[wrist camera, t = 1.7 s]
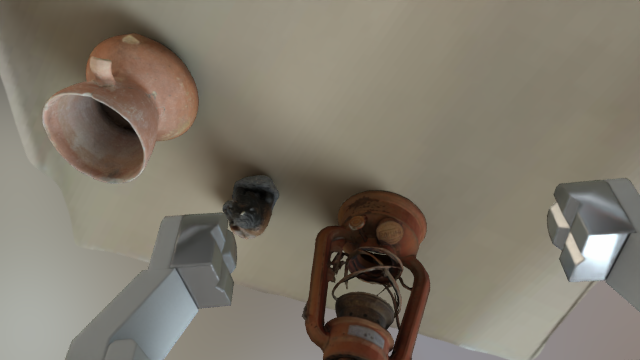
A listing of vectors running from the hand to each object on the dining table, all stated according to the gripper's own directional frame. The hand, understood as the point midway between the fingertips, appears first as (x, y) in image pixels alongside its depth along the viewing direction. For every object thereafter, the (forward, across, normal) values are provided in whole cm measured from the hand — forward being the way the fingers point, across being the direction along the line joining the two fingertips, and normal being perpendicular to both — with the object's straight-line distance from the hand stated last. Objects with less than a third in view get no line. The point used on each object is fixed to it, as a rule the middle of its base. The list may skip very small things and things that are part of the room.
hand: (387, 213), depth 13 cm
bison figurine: (+43, +16, +43) cm, 63 cm away
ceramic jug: (+47, +26, +26) cm, 60 cm away
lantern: (+38, -2, +47) cm, 61 cm away
